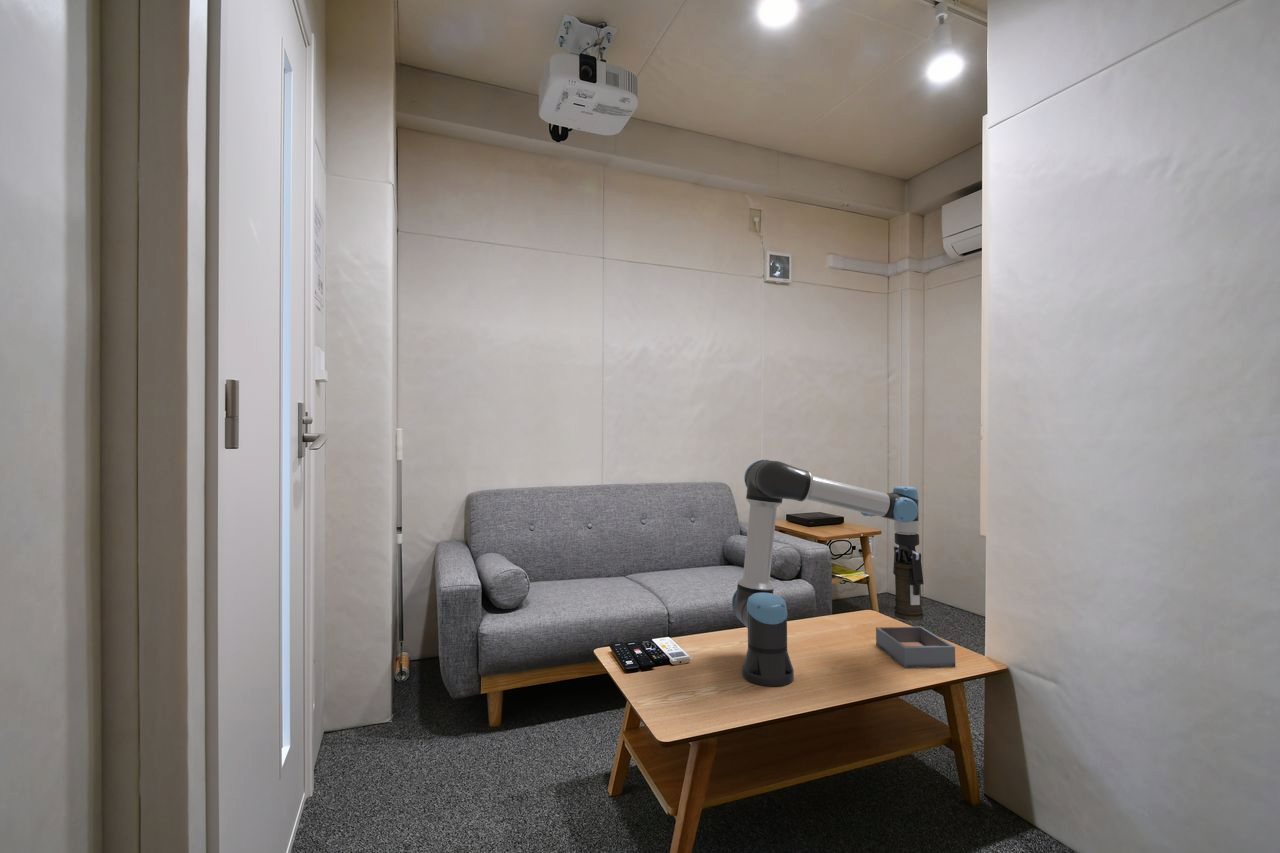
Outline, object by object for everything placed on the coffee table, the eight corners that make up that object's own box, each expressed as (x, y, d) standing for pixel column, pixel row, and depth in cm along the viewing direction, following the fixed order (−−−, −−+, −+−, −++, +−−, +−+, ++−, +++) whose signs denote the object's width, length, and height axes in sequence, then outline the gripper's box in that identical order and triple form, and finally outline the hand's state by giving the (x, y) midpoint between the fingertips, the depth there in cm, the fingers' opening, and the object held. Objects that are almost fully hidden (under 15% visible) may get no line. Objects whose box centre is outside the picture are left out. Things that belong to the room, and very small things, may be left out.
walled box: (904, 667, 178) (904, 648, 178) (876, 644, 198) (875, 627, 198) (955, 666, 179) (955, 646, 179) (921, 643, 199) (921, 626, 199)
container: (920, 622, 186) (919, 566, 186) (891, 617, 191) (889, 563, 192) (926, 615, 193) (925, 561, 193) (897, 611, 198) (896, 558, 199)
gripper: (934, 537, 182) (936, 609, 182) (902, 527, 203) (903, 592, 203) (911, 538, 182) (913, 610, 181) (881, 528, 203) (882, 593, 202)
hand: (908, 600), depth 192 cm, fingers closed on container, 8 cm apart
